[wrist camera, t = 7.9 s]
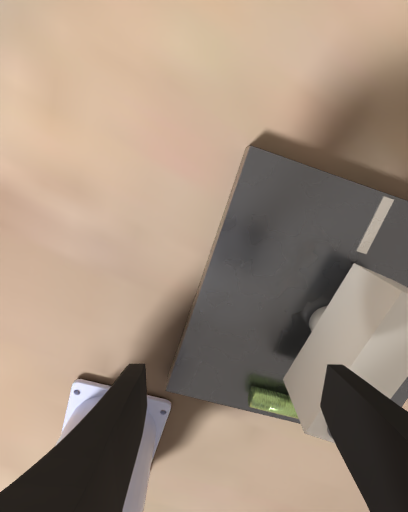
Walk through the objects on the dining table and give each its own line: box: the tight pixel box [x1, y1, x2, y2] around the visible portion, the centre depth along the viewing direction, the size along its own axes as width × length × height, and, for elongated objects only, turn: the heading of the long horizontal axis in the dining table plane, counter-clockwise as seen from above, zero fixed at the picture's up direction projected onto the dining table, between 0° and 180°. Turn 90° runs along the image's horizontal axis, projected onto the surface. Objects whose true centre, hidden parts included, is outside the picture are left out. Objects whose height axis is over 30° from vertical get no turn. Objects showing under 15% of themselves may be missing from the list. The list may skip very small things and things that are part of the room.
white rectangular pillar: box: [283, 263, 408, 443], centre depth 16 cm, size 3×9×6 cm, turn 157°
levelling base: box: [166, 145, 408, 424], centre depth 19 cm, size 18×18×3 cm
